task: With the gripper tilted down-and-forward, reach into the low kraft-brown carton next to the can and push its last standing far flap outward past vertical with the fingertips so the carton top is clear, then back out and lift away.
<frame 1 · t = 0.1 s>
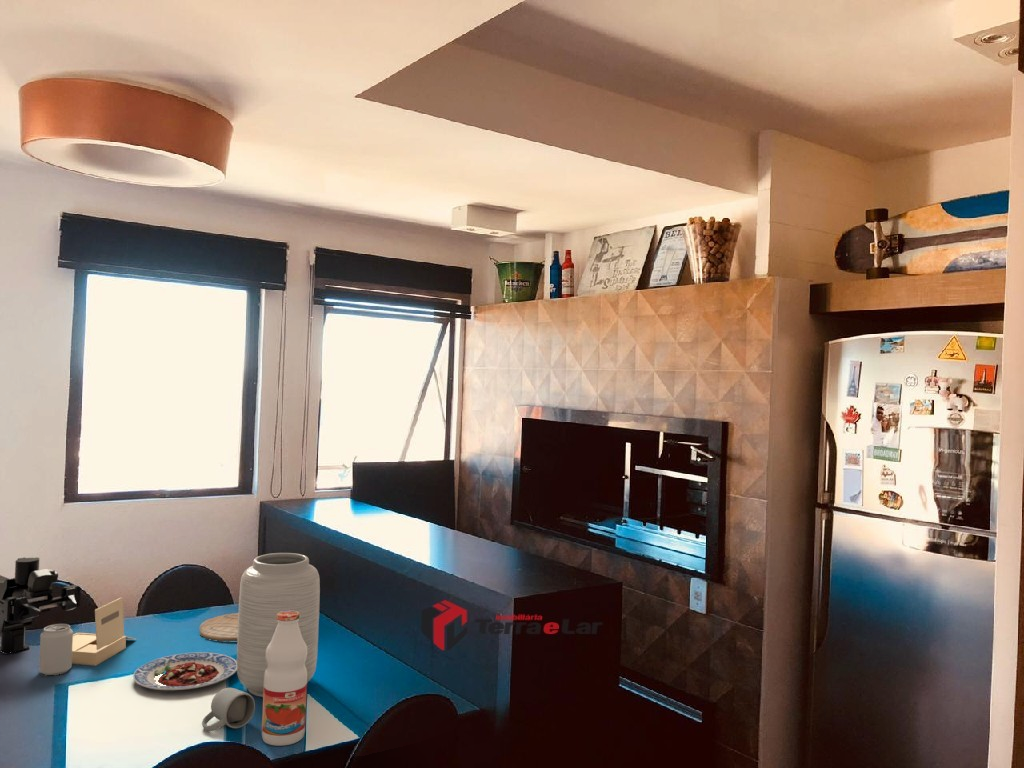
hand: (58, 609, 206), 17 cm above the table, tool horizontal, fingers open, 9 cm apart
flap: (110, 622, 218), point 9 cm above the table, hinge at -5.0°
carton: (85, 654, 218), on the table
fruit juice: (283, 738, 174), on the table
ceramic plate: (186, 678, 206), on the table
ceramic mug: (226, 725, 179), on the table
vase: (276, 687, 202), on the table
trivet: (241, 630, 245), on the table
can: (55, 672, 206), on the table
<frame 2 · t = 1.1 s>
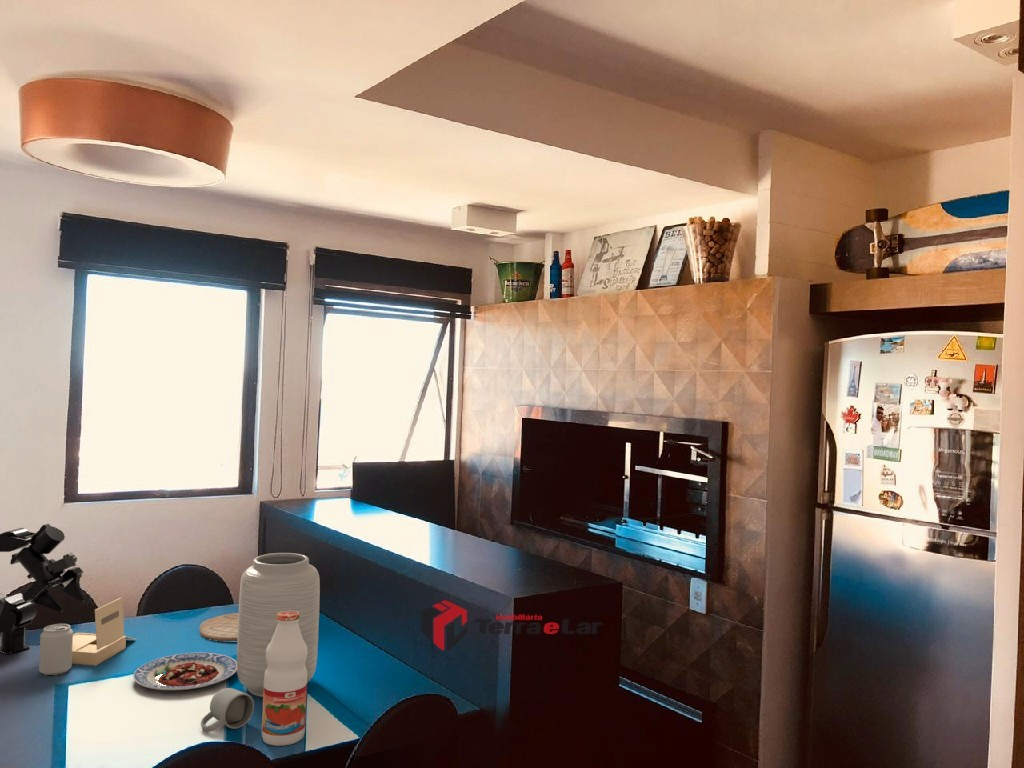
hand: (72, 605, 218), 14 cm above the table, tool tilted 45°, fingers open, 9 cm apart
nothing on the table moved.
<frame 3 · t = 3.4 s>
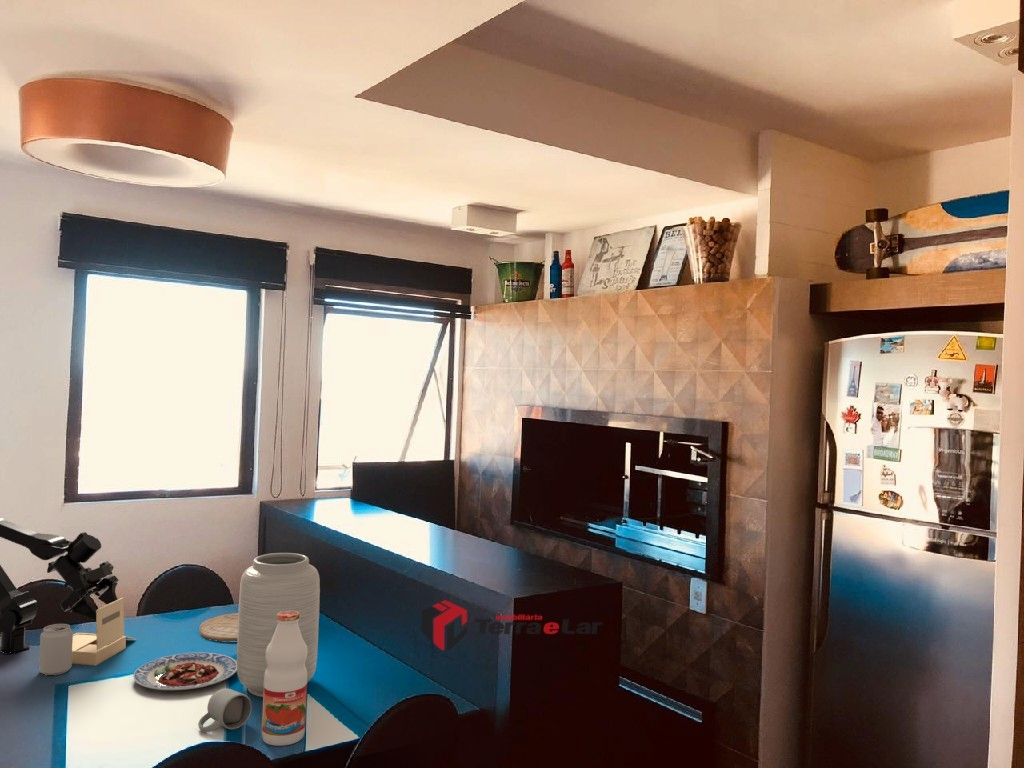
hand: (109, 614, 218), 12 cm above the table, tool tilted 45°
flap: (110, 622, 218), point 9 cm above the table, hinge at -2.8°, touching gripper
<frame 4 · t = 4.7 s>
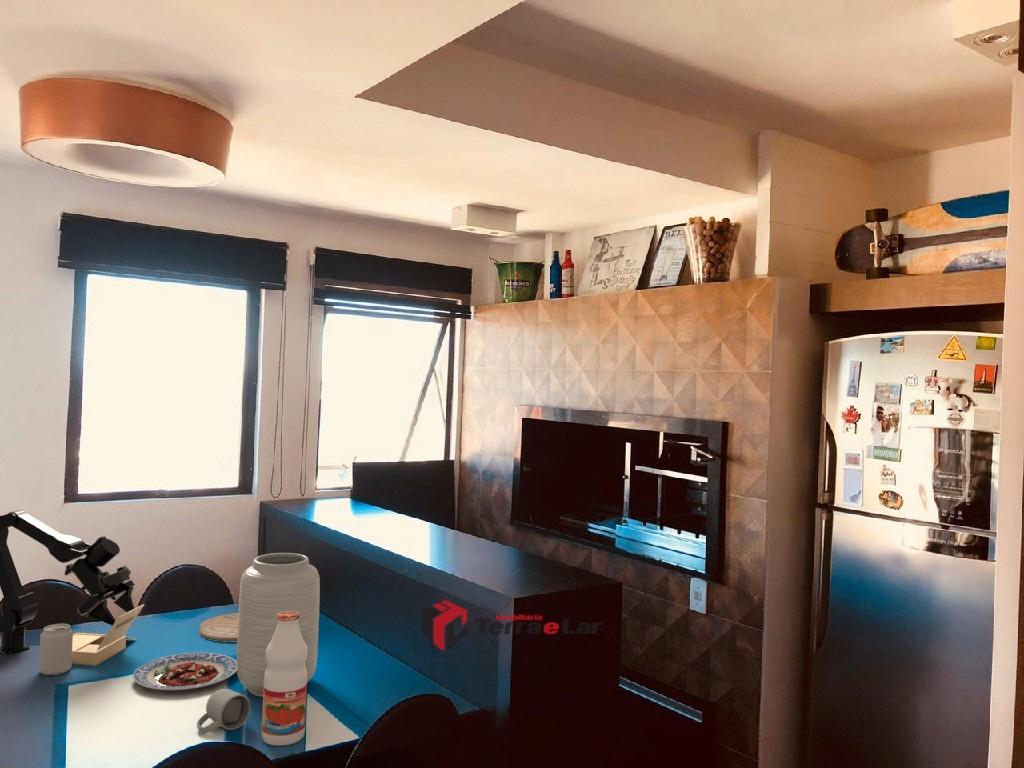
hand: (125, 620, 217), 11 cm above the table, tool tilted 45°
flap: (121, 626, 217), point 9 cm above the table, hinge at 31.9°, touching gripper
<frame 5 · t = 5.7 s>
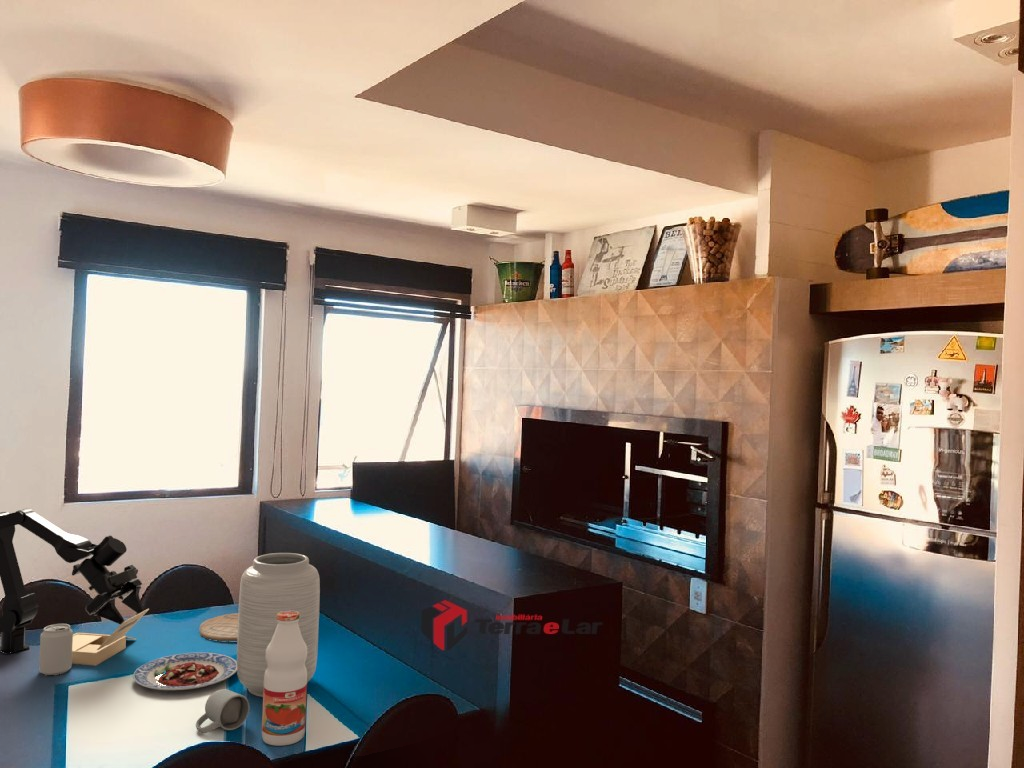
hand: (133, 618, 217), 11 cm above the table, tool tilted 45°
flap: (123, 628, 217), point 8 cm above the table, hinge at 41.9°, touching gripper
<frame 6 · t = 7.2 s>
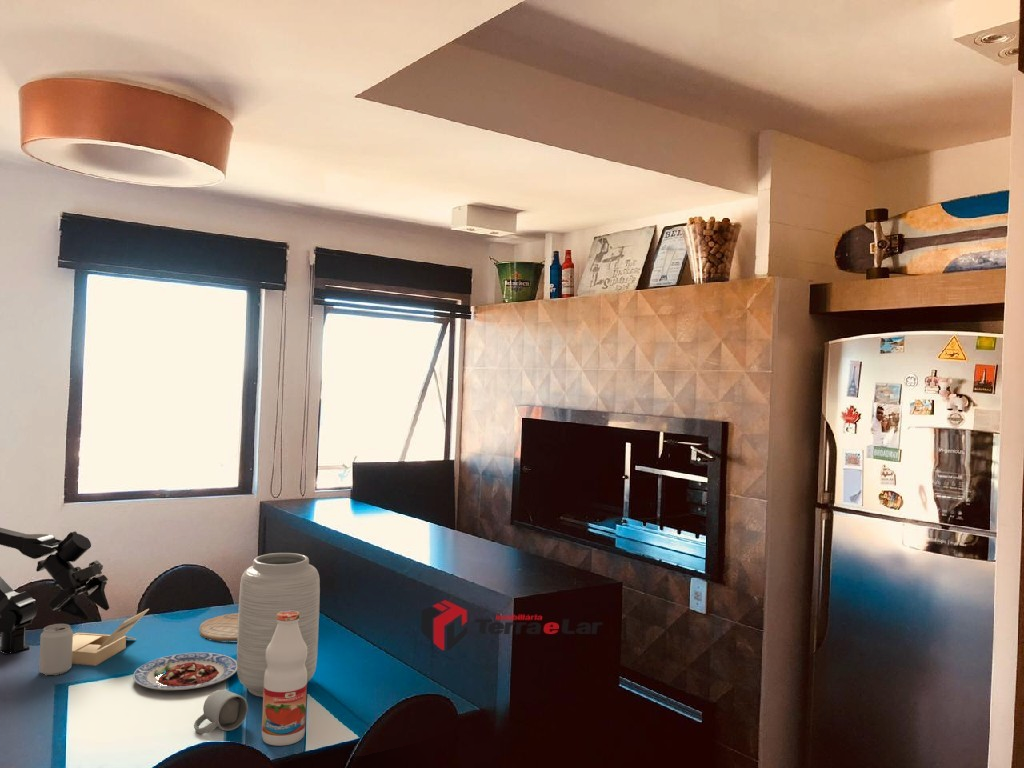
hand: (98, 614, 218), 12 cm above the table, tool tilted 45°, fingers open, 9 cm apart
flap: (123, 629, 217), point 8 cm above the table, hinge at 42.1°
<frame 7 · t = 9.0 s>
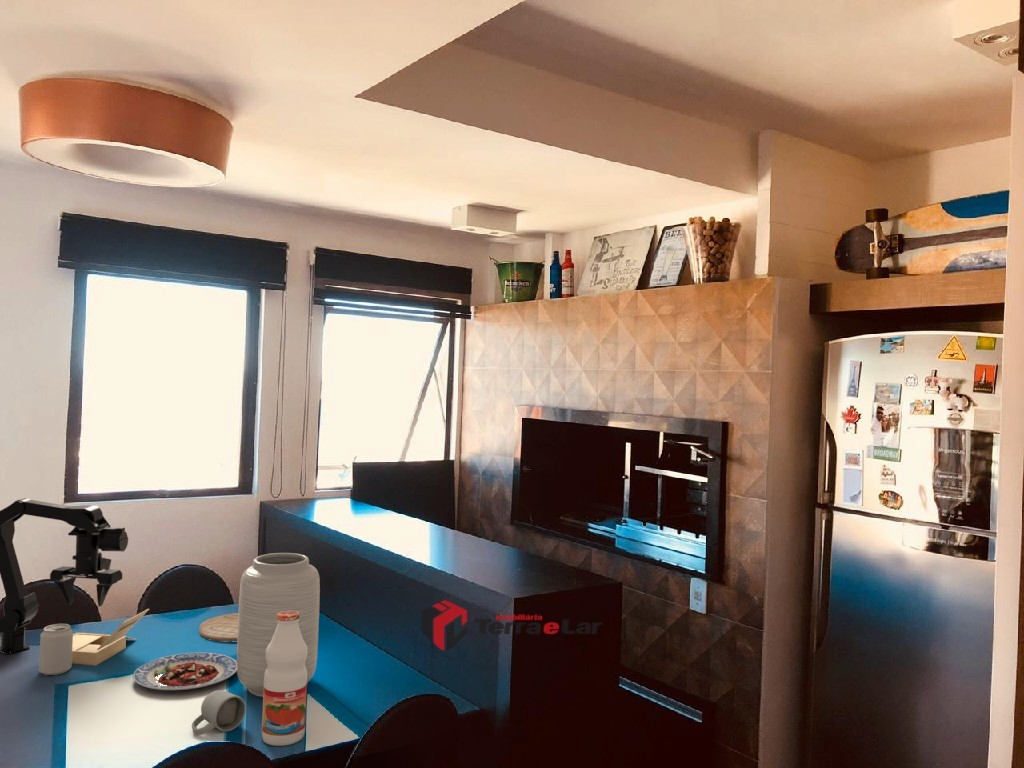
hand: (85, 605, 221), 13 cm above the table, tool pointing down, fingers open, 9 cm apart
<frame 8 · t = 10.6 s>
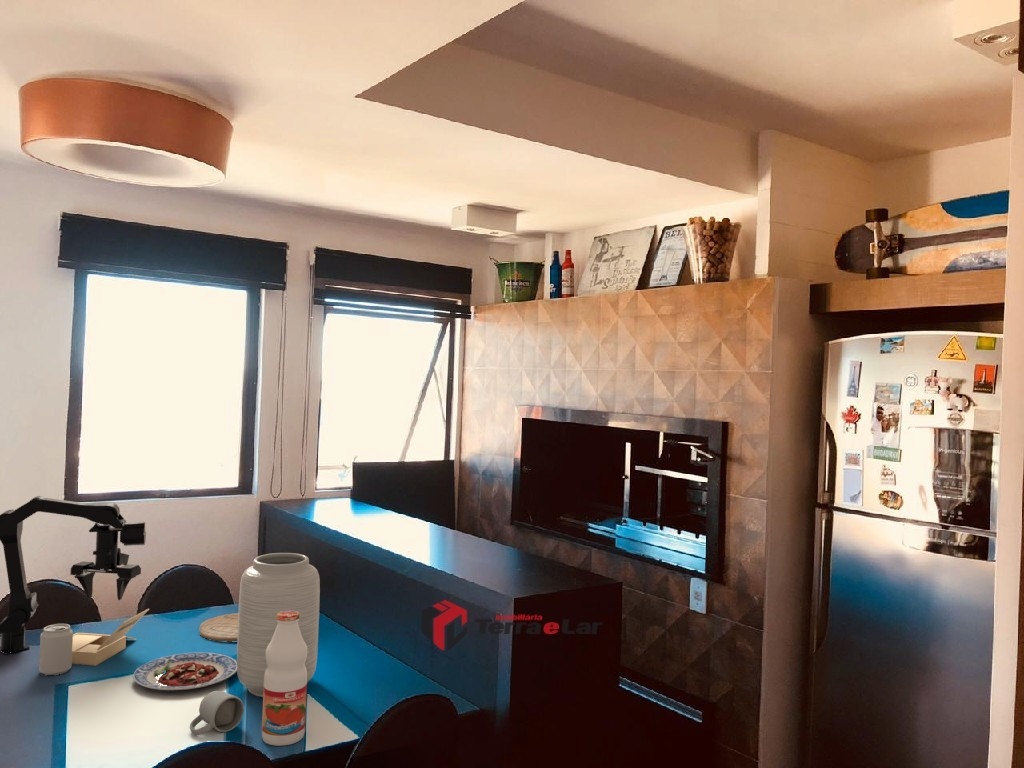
hand: (104, 598, 228), 13 cm above the table, tool pointing down, fingers open, 9 cm apart
at the end: flap at +42° (first picture: -5°) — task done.
